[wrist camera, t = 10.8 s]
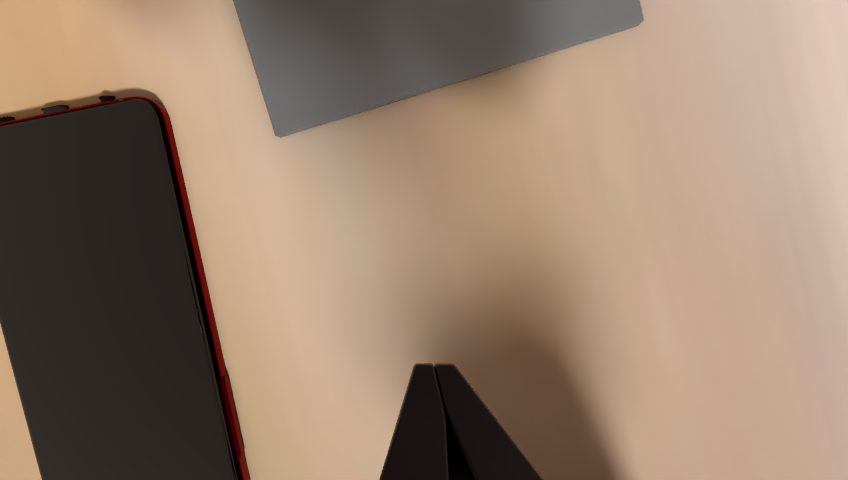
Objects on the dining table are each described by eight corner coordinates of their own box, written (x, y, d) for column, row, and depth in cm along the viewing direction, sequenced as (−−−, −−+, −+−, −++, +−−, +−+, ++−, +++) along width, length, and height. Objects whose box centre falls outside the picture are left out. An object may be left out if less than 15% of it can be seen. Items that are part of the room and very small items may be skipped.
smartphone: (153, 82, 20) (254, 543, 22) (175, 90, 21) (267, 521, 23) (-63, 126, 21) (53, 561, 23) (-27, 131, 22) (78, 539, 25)
